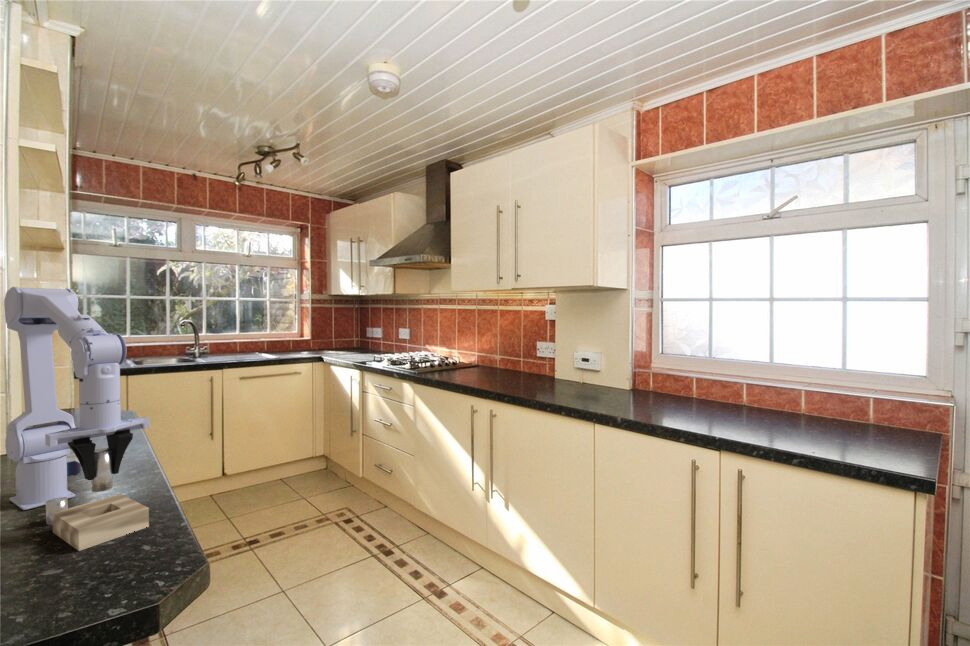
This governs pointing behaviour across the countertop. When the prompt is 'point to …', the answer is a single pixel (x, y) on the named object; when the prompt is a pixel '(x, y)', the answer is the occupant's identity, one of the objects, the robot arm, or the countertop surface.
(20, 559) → the countertop surface
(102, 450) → the long steel pin
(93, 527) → the birch board
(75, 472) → the white and blue bar
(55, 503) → the short steel pin
